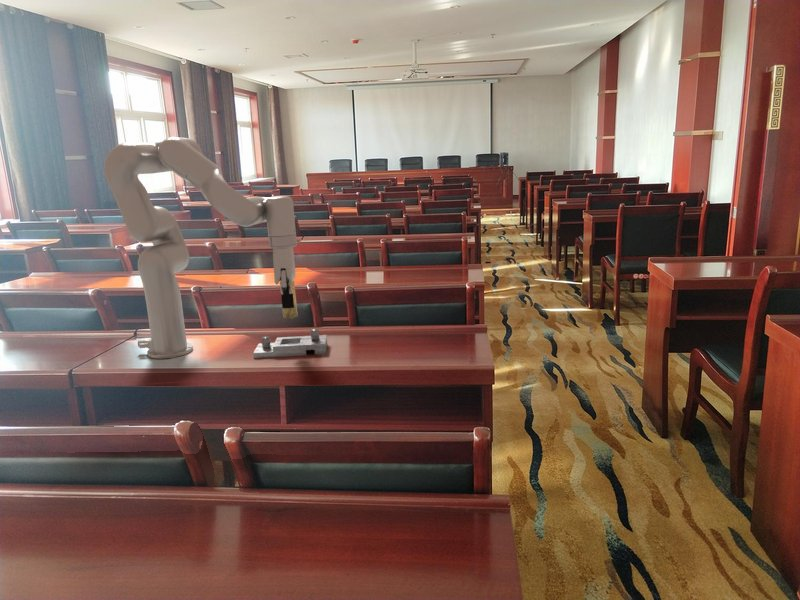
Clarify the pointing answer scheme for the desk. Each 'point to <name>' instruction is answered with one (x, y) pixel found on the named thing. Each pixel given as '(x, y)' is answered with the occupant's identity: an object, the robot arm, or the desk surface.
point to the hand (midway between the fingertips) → (289, 305)
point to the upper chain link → (302, 343)
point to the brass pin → (293, 311)
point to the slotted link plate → (267, 350)
